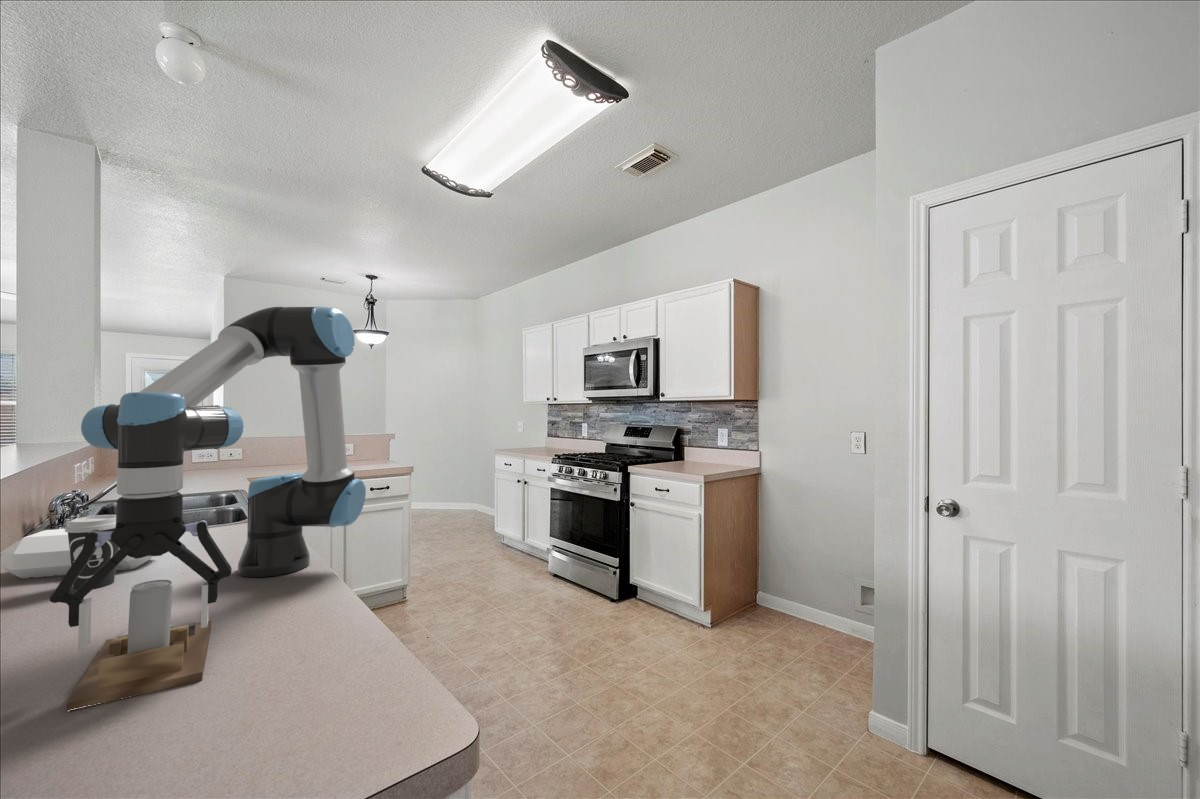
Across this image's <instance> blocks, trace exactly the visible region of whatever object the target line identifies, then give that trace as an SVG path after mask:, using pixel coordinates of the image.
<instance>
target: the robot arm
mask: <svg viewBox="0 0 1200 799" xmlns="http://www.w3.org/2000/svg"><path fill="white" fill-rule="evenodd" d="M355 344H356V342H355V334H354V329H353V327H352V323H351V322H350V320H349V318H348V317H347V316H346V314H345V313H344V312H343V311H341V310H340V309H338V308H335V307H327V306H326V307H325V306H319V305H318V306H272V307H267V308H263V309H259V310H257V311H253V312H252V313H250V314H247V315H245V316H243V317H241V318H238V319H237V320H235V321H233V322H232V323H230V324H229V325H227V326H226V327H224V328H223V329H222V330H220V331H219V333H218V335H217V338H216V340H214V341H213V342H211V343H210V344H208V345H207V346H205V347H204V348H202V349H201V350H199V351H198V352H197V353H195V354H193V355H192V356H191V357H189V358H187V360H184V361H183V362H182V363H180V364H179V365H177V366H175V367H173V369H171V370H170V371H168V372H167V373H165V374H164V375H162V376H161V377H159V378H158V379H156V380H155V381H154V382H152V383H150V384H149V385H148V386H146V387H144V388H143V389H142V390H140V391H137V392H135V391H134V392H133V391H132V392H127V393H124V394H123V395H122V396H121V398H120V399H119V400H120V401H119V404H112V403H111V404H107V405H98V406H96V407H93V408H91V409H90V410H88V411H87V412H86V413H85V414H84V416H83V418H82V421H81V426H80V429H81V430H80V432H81V435H82V437H83V439H84V440H85V441H86V442H87V443H88V444H89V445H91V446H92V447H94V448H99V449H108V450H116V451H117V468H116V493H117V495H120V496H121V497H119V498H118V499H117V500H116V508H115V509H116V510H115V512H116V514H115V515H116V527H115V529H114V531H106V532H100V531H99V530H92V531H91V532H89V533H88V534H87V535H86V536H85V539H84V545H83V549H82V551H81V552H80V554H79V555H78V557H77V558H76V560H75V561H74V563H73V564H72V566H71V567H70V569H69V570H68V572H67V573H66V575H63V578H62V579H61V581H60V582H59V584H58V585H57V586H56V588H55V590H54V591H53V592H52V594H51V596H50V598H49V602H50V603H52V604H57V603H61V604H67V606H68V619H67V620H68V621H67V622H68V626H69V627H70V628H73V627H78V634H77V635H78V636H77V637H78V638H77V640H78V642H77V644H78V645H77V648H78V649H77V651H78V652H82V651H86V650H87V648H88V647H89V645H90V644H91V639H92V638H91V635H92V634H91V632H92V628H91V627H92V597H87V598H85V597H86V596H87V595H88V594H89V593H90V592H91V591H92V590H94V589H93V588H94V587H95V586H96V585H97V584H98V583H99V582H100V581H101V580H102V579H103V578H104V577H105V576H106V575H107V574H108V573H109V572H110V571H111V570H113V569H114V568H115V567H116V566H117V565H118V564H119V563H120V562H121V561H122V560H123V559H124V558H125V557H126V556H127V555H128V556H129V557H133V558H134V559H137V558H143V557H146V556H154V557H158V556H159V557H161V556H163V555H165V554H166V553H170V554H171V555H172V556H174V557H175V558H177V559H179V561H181V562H182V563H184V564H185V565H186V566H187V567H189V568H190V569H191V570H192V571H193V572H195V573H196V574H197V575H199V576H200V577H201V578H202V579H203V581H202V584H201V611H200V612H201V613H200V616H201V617H200V622H201V628H204V627H207V625H208V621H209V604H214V603H216V602H217V600H218V593H219V592H218V591H219V590H218V587H219V586H218V585H219V582H220V581H221V580H222V579H224V578H225V579H226V578H229V577H230V576H231V575H232V572H233V569H232V566H231V565H230V563H229V562H228V560H227V558H226V557H225V556H224V554H223V552H222V551H221V549H220V548H219V546H218V545H217V544H216V542H215V540H214V539H213V536H212V535H211V534H210V533H209V526H208V521H207V520H206V519H200V520H198V521H196V522H190V523H186V524H185V522H184V521H183V502H184V501H183V499H184V498H183V497H184V496H183V494H182V493H181V492H179V491H181V490H182V489H183V487H184V452H189V451H202V450H219V449H222V448H227V447H229V446H233V445H234V444H236V443H237V442H238V441H239V440H240V438H241V437H242V435H243V433H244V426H245V425H244V420H243V418H242V416H241V415H240V413H239V412H238V411H237V410H235V409H234V408H232V407H228V406H221V405H219V404H217V405H214V404H213V405H199V404H200V403H201V402H202V401H204V400H205V399H207V398H208V397H209V396H211V394H212V393H214V392H216V391H217V390H218V389H219V388H220V387H222V386H223V385H224V384H225V383H226V382H228V381H229V380H230V379H231V378H232V377H235V376H236V375H237V374H238V373H239V372H241V371H242V370H243V369H244V368H246V367H247V366H254V365H256V364H258V363H260V362H261V361H263V360H264V359H266V358H273V357H289V362H290V366H291V367H292V368H294V369H295V370H296V371H297V372H298V378H299V379H298V380H299V388H300V396H301V397H300V398H301V400H300V401H301V408H302V410H301V411H302V421H303V430H304V442H305V452H306V453H305V454H306V462H307V463H306V464H307V470H305V472H304V473H302V472H294V473H285V474H278V475H272V476H266V477H261V478H256V479H253V480H252V481H251V482H250V483H249V485H248V489H247V490H248V493H247V497H246V500H247V526H246V527H247V529H246V530H247V535H246V536H247V537H246V538H247V539H246V543H245V545H244V548H243V550H242V553H241V556H240V558H239V561H238V564H237V574H238V576H241V577H246V578H266V577H273V576H275V577H276V576H279V575H280V576H282V575H285V574H290V573H294V572H297V571H300V570H303V569H304V568H306V567H308V566H309V565H310V563H311V560H310V558H311V555H310V551H309V549H308V546H307V544H306V540H305V537H304V536H303V527H323V528H324V527H326V528H327V527H330V528H336V527H347V526H350V525H352V524H353V523H355V522H356V520H358V519H359V516H360V515H361V514H362V513H361V512H362V510H363V508H364V506H365V500H366V485H365V483H364V481H363V480H362V479H359V478H356V477H355V469H354V468H353V467H352V466H350V465H349V464H348V461H347V448H346V436H345V422H344V421H345V420H344V411H343V399H342V398H343V397H342V386H341V384H342V383H341V376H340V372H341V371H340V370H341V369H342V368H343V367H344V365H346V364H347V363H346V362H347V361H346V357H349V356H350V355H352V354H353V352H354V346H355ZM186 532H187V533H190V534H191V536H192V537H197V538H198V540H199V543H200V544H201V545H202V547H203V549H204V550H205V552H206V554H207V555H208V556H209V557H210V559H211V561H212V562H213V564H214V565H215V567H216V568H217V569H218V570H216V571H215V569H213V568H212V567H210V566H209V565H208V564H207V563H206V562H204V561H203V560H202V559H201V558H200V557H198V556H197V555H196V554H195V553H193V552H192V550H190V549H189V548H187V547H186V545H185V544H184V543H183V542H182V541H180V539H181V537H183V536H184V534H185V533H186ZM110 539H111V540H112V541H113V542H114V543H115V544H116V545H117V546H118V547H119V548H120V550H119V551H118V552H117V553H116V554H114V555H113V556H112V557H111V558H110V559H109V560H108V561H107V562H106V563H105V564H104V565H103V566H102V567H101V568H100V569H99V570H98V571H97V572H96V573H95V574H94V575H93V576H92V577H91V578H90V579H89V580H88V581H87V582H85V583H84V584H83V585H82V586H81V587H80V588H79V589H78V590H75V591H73V590H71V589H72V588H73V584H74V582H75V581H76V579H77V578H78V576H79V575H80V573H81V572H82V570H83V569H84V567H85V566H86V564H87V563H88V561H89V560H90V558H91V557H92V555H93V554H94V552H95V551H96V549H97V547H101V546H102V545H103V544H104V543H105V542H106V541H107V540H110Z"/></svg>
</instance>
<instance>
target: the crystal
mask: <svg viewBox="0 0 1200 799" xmlns="http://www.w3.org/2000/svg"><path fill="white" fill-rule="evenodd" d="M65 529H66V528H59V529H58V528H56V529H46V530H41V531H39V532H35V533H33V534H29V535H27V536H24V537H22V538H20V539H19V540H17V541H16V542H14V543H13V544H12V545H9V546H8V547H7V548H5V549H3V550H2V551H1V552H0V568H1V569H3V570H4V571H6V572H8V573H9V574H12V575H14V576H16V577H18V578H20V579H30V578H29V577H34V578H45V577H44V576H46V577H54V575H57V576H65V574H66V573H67V572H68V570H69V569H70V567H71V559H70V549H69V539H68V532H65ZM119 550H120V548H119V549H118V551H119ZM154 557H155V556H146V557H143V558H137V559H134V558H133V557H129V556H128V555H127V556H126V557H125V558H124V559H123V560H122V561H121V562H120V563H119V564H118V565H117V566H116V571H125V570H126V571H127V570H134V569H136V568H138V567H140V566H141V565H143V564H144V563H146V562H148V561H149V560H151V559H152V558H154Z"/></svg>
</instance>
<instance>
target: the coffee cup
mask: <svg viewBox="0 0 1200 799" xmlns="http://www.w3.org/2000/svg"><path fill="white" fill-rule="evenodd" d="M115 527H116V514H101V515H100V514H98V515H90V516H89V515H88V516H84V517H78V518H74V519H71V520H70V522H69V524H68V525H67V526H66V527H65V528H64V529H65V532H68V539H69V549H70V559H71V566H72V564H73V563H74V561H75V560H76V558H77V557H78V555H79V554H80V552H81V551H82V549H83V545H84V539H85V536H86V535H87V534H88V533H89V532H91V531H92V530H99V531H100V532H106V531H114V529H115ZM118 549H119V547H118V546H117V545H116V544H115V543H114V542H113V541H112V540H111V539H110V540H107V541H106V542H105V543H104V544H103V545H102V546H101V547H97V549H96V551H95V552H94V554H93V555H92V557H91V558H90V560H89V561H88V563H87V564H86V566H85V567H84V569H83V570H82V572H81V573H80V575H79V576H78V578H77V579H76V581H75V582H74V584H73V585H72V588H73V590H75V591H77V590H78V589H79V588H80V587H81V586H82V585H83V584H84V583H85V582H87V581H88V580H89V579H90V578H91V577H92V576H93V575H94V574H95V573H96V572H97V571H98V570H99V569H100V568H101V567H102V566H103V565H104V564H105V563H106V562H107V561H108V560H109V559H110V558H111V557H112V556H113V555H114V554H116V553H117V552H118ZM116 572H117V570H116V567H115V568H114V569H113V570H111V571H110V572H109V573H108V574H107V575H106V576H105V577H104V578H103V579H102V580H101V581H100V582H99V583H98V584H97V585H96V586H95V587H94V588H93V589H92V590H95V589H99V588H104V587H107V586H110V585H112V584H114V582H115V579H116V578H115V576H116Z"/></svg>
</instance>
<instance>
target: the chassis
mask: <svg viewBox="0 0 1200 799" xmlns="http://www.w3.org/2000/svg"><path fill="white" fill-rule="evenodd" d="M211 630H212V620H208V625H207V627H204V628H201V621H200V622H195V621H194V622H188V623H184V624H179V625H173V626H170V640H169V646H165V647H160V648H155V649H150V650H145V651H140V652H135V653H130V654H127V651H128V634H124V635H117V636H116V637H114V638H110V639H105V641H104V642H103V644H102V646H101V647H100V649H99V650H98V652H97V654H96V655H95V657H94V658H93V660H92V661H91V663H90V665H89V667H88V669H87V670H86V672H85V673H84V675H83V676H82V678H81V680H80V681H79V683H78V685H77V686H76V688H75V690H74V691H73V693H72V695H71V696H70V698H68V701H67V702H66V703H67V704H66V711H67V710H70V709H74V708H79V707H83V706H88V705H94V704H98V703H104V702H108V703H111V702H110V701H112V702H115V701H114V700H117V701H119V700H118V699H121V698H125V697H129V696H134V695H138V696H142V695H145V694H150V693H154V691H155V692H158V691H163V690H167V689H171V688H176V687H180V686H184V685H188V684H192V683H193V684H194V683H196V682H201V681H203V678H204V671H205V667H206V666H205V665H206V661H207V660H206V659H207V654H208V648H209V642H210V636H211ZM141 694H142V695H141ZM134 697H135V696H134ZM129 698H130V697H129ZM125 699H126V698H125ZM121 700H122V699H121ZM104 704H105V703H104Z"/></svg>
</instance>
